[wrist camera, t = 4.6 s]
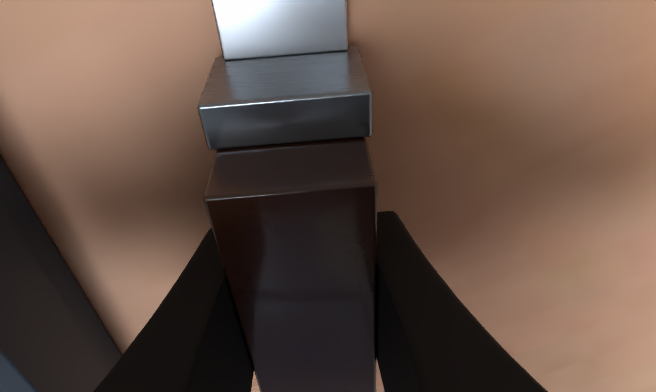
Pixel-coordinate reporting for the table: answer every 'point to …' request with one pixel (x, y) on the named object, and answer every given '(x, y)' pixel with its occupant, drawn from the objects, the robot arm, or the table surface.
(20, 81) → the table surface
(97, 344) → the drying rack
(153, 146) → the table surface
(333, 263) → the knife
